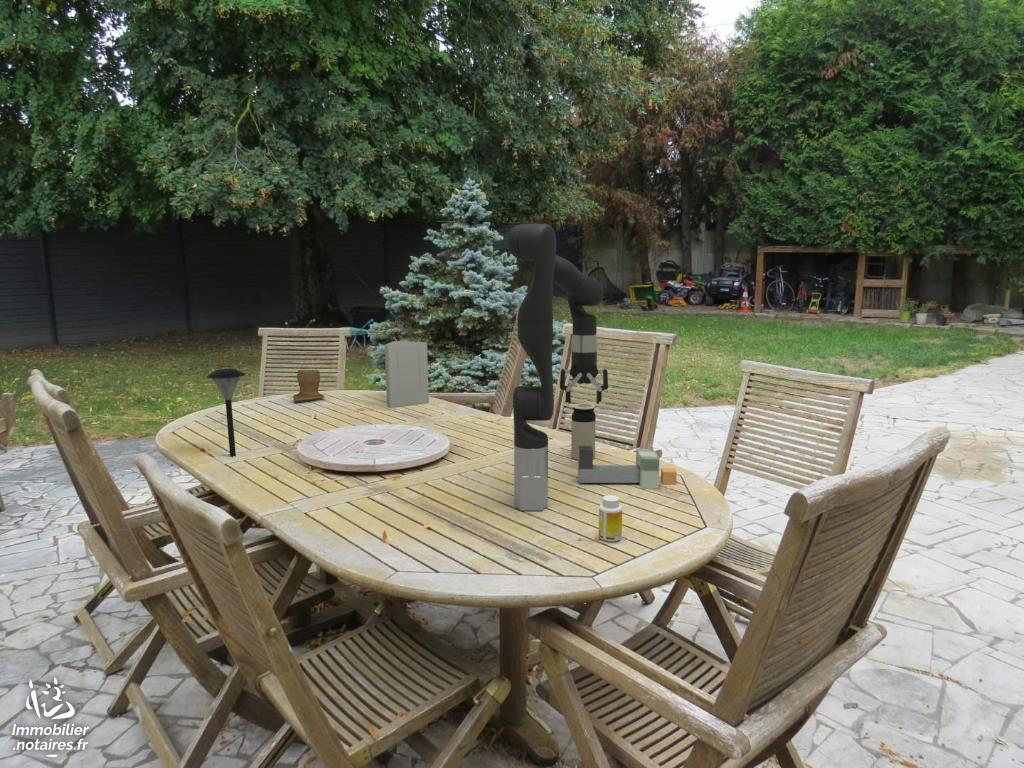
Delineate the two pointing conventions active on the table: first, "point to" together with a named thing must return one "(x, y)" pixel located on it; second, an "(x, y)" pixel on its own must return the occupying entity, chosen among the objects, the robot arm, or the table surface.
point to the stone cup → (308, 386)
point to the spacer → (668, 476)
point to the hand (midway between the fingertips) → (583, 403)
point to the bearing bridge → (648, 468)
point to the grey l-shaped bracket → (604, 470)
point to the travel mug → (583, 428)
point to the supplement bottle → (610, 519)
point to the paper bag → (406, 373)
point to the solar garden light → (227, 397)
